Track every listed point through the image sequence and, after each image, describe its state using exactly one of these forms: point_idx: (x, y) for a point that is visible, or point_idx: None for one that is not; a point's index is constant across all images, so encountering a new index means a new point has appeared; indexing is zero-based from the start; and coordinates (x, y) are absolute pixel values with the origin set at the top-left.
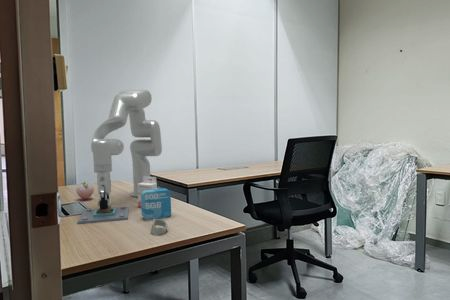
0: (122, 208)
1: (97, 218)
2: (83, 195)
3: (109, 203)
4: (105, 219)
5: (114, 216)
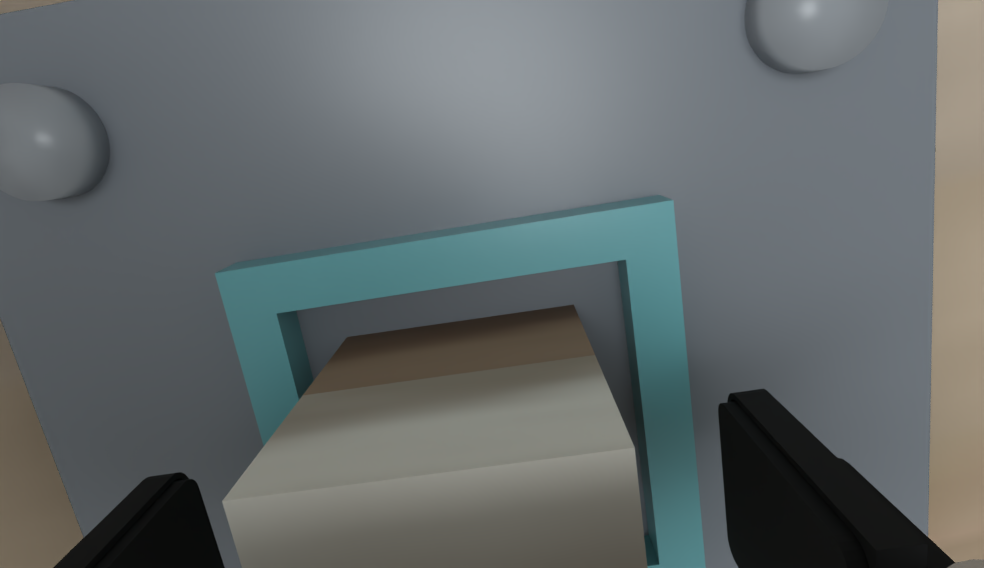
0: (105, 147)
1: None
2: None
3: (621, 419)
4: (926, 317)
5: (762, 184)
